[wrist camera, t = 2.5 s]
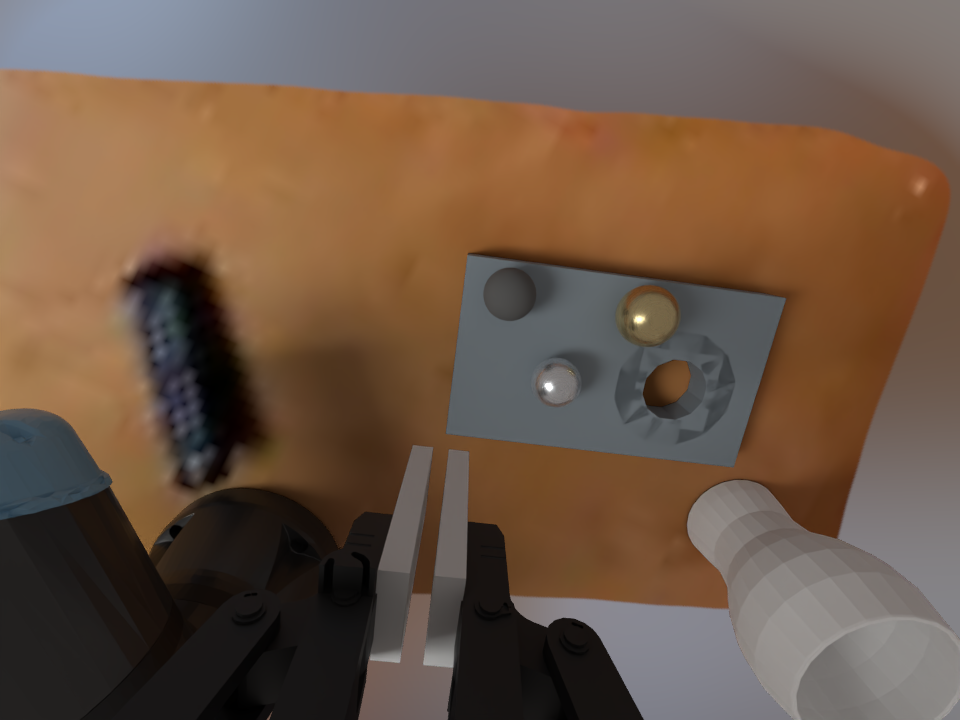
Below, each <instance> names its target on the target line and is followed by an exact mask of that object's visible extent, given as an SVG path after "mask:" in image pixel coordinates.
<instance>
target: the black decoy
mask: <svg viewBox="0 0 960 720" xmlns="http://www.w3.org/2000/svg"><path fill="white" fill-rule="evenodd" d="M483 298H484V302H485V305H486V307H487V309H488V310H489V312H490V313H491V314H492V315H493V316H495V317H496V318H498V319H501V320H504V321H515V320H518V319H521V318H523V317H524V316H526V315H527V314H528V313H529V312H530V311H531V309H532V308H533V306H534V304H535V301H536V287H535V284H534V282H533V280H532V279H531V277H530V276H529V275H528V274H527V273H525V272H524V271H522V270H520V269H517V268H503V269H500V270H498V271H496V272H495V273H493V274H492V275H491V276H490V277H489V279H488V280H487V282H486V284H485V287H484V292H483Z"/></svg>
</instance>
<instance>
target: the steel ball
mask: <svg viewBox="0 0 960 720" xmlns="http://www.w3.org/2000/svg"><path fill="white" fill-rule="evenodd" d="M581 385H582V381H581V376H580V373H579V371H578V369H577V368H576V367H575V365H573V364H572V363H571V362H570V361H568V360H566V359H563V358H549V359H546V360H544V361H543V362H541V363H540V364H539V365H538V366H537V367H536V368H535V369H534V371H533V374H532V377H531V388H532V392H533V394H534V396H535V397H536V398H537V400H538V401H540V402H541V403H542V404H544V405H546V406H548V407H553V408H560V407H564V406H567V405H569V404H571V403H572V402H573V401H574V400H575V399H576V398H577V397H578V395H579V393H580V390H581Z"/></svg>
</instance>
